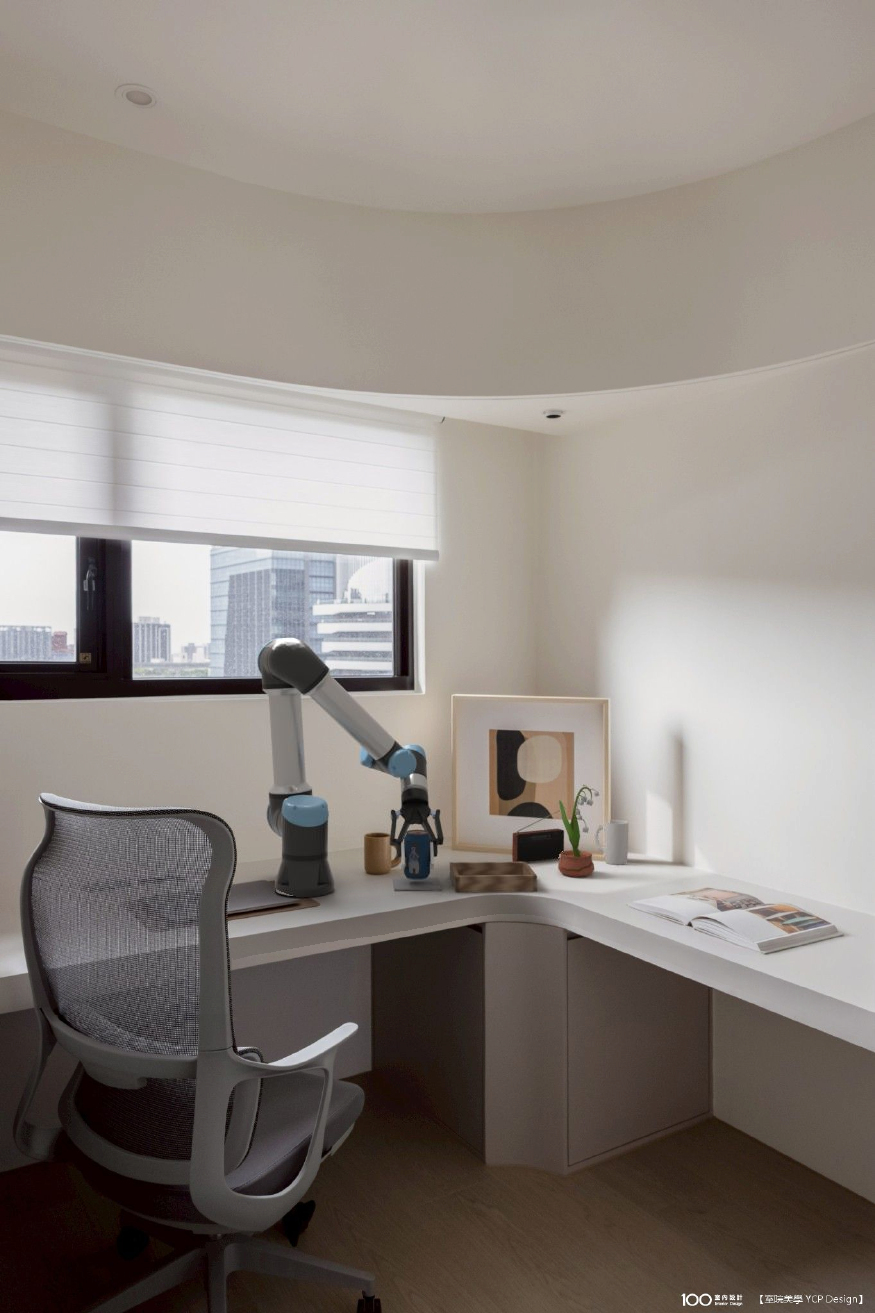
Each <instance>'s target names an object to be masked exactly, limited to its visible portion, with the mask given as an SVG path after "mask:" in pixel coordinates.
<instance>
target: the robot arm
mask: <svg viewBox="0 0 875 1313" xmlns="http://www.w3.org/2000/svg"><path fill="white" fill-rule="evenodd" d="M256 661H257V667H258V671H259V672H260V674H261V684H262V686H261V687H262V688H261V689H262V691H263V692H264V693H265V694H266V695H267V697H268V705H269V706H268V708H269V722H270V723H269V724H270V739H271V740H270V741H271V758H272V770H273V771H272V772H273V773H272V775H273V776H272V777H273V785H272V786H271V787H270V788H269V789H268V805H267V809H266V813H265V814H266V820H267V823H268V826H269V827H270V829H271V831H272V832H274V833H275V834H276V835H277V836H278V837H281V862H280V866H279V869H278V870H277V874H276V876H275V877H276V878H275V880H274V889H275V888H276V889H277V890H279V891H281V892H284V893H286V894H289V895H293V896H296V897H295V898H313V897H320V896H325V895H328V894H330V893H332V892H334V890H335V879H334V875H333V872H332V868H331V865H330V863H329V859H328V858H329V856H328V854H329V853H328V852H329V850H328V849H329V815H330V814H329V813H330V811H329V806H328V803H327V801H326V800H325V799H324V798H322V797H321V796H320V797H319V796H315V795H313V786H311V785H310V784H309V783H308V782H307V777H306V761H305V760H306V759H305V745H304V744H305V743H304V724H303V711H302V710H303V709H302V708H303V706H302V695H303V696H309V697H310V698H311V699H312V700H313V701H315V703H316V704H317V705H319V706H320V708H321V709H322V710H323V711H325V712H326V714H328V715H329V716H330V717H331V718H332V720H334V721H335V722H336V723H337V725H339V726H340V727H341V728H342V729H343V730H344V731H345V732H346V733H347V734H348V735H349V736H350V737H351V738H352V739H353V740H354V741H356V743H357V744H358V745H359V746H361V750H360V752H359V753H360V754H359V763H360V765H362V766H363V767H365V768H368V769H372V770H375V771H379V772H381V773H385V774H386V775H390V776H392V777H394V778H397V779H398V778H399V779H400V802H401V804H400V806H401V807H400V809H398V810H395V809H391V810H390V819H391V826H390V836H389V845H390V846H395V847H396V857H397V858H401V859H400V860H401V862H400V864H401V871H404V869H405V853H404V838H405V836H406V834H407V833H406V832H407V831H409V830H408V829H409V828H410V826H411V825H412V826H413V825H420V826H421V828H423V830H425V831H428V835H429V837H430V870H434V869H435V857H438V853H439V852H438V846H443V845H444V839H445V838H444V834H443V828H442V824H441V819H440V818H441V817H440V816H441V809H436V810H432V809H431V807H430V802H429V793H428V792H429V789H428V788H429V787H428V786H429V785H428V774H427V773H428V772H427V768H428V767H427V765H428V764H427V755H426V751H425V749H424V748H423V747H422V746H421V745H419V744H415V743H414V744H406V745H404V746H402V745H401V744H399V743H398V741H397V740H396V739H395V738H394V737H393V736H392V735H391V734H389V732H388V731H387V730H385V728H384V727H383V726H382V725H381V724H380V723H379V722H378V721H376V719H375V718H374V717H373V716H372V715H371V714H370V713H369V712H368V711H367V710H366V709H365V708H364V707H363V706H362V705H361V704H360V703H359V702H358V701H357V700H356V699H355V698H354V697H353V696H352V695H351V694H350V693H349V692H348V691H347V690H346V689H345V688H344V687H343V686H342V685H341V684H340V683H339V682H338V681H337V680H336V679H335V678H334V677H333V676H332V675H331V669H330V668H329V666H327V665H326V663H325V662H324V661H323V660H322V659H321V657H319V656H318V655H317V653H316V652H314V651H313V649H312V648H311V647H310V646H309V645H308V644H306V642H304V641H303V640H301V639H299V638H298V639H297V638H294V637H286V638H283V637H278V638H273V639H272V640H270V641H268V642H266V643H265V644H264V645H263V646H262V647H261V649H260V650H259V652H258V654H257V660H256ZM400 816H401V817H402V819H404V822H403V824H402V825H401V826H402V827H401V829H400V832H399V834H398V836H397V838H396V831H397V820H398V819H399V818H400ZM430 816H431V818H432V819H433V820H434V828H435V831H436V835H435V833H434V831H433V829H432V827H431V824H430V823H429V820H428V818H429V817H430Z"/></svg>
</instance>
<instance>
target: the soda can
mask: <svg viewBox="0 0 875 1313" xmlns="http://www.w3.org/2000/svg"><path fill="white" fill-rule="evenodd" d="M403 842H404V853H405V869H404V870H403V874H404V877H405V878H408V879H411V880H423V879H426V878H427V877H429V876H430V874H431V866H430V837H429V835H428V831H425V830H424V829H411V830H407V832H406V835H405V837H404V840H403Z"/></svg>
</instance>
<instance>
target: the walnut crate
mask: <svg viewBox="0 0 875 1313" xmlns="http://www.w3.org/2000/svg"><path fill="white" fill-rule="evenodd" d="M449 879H451V880H450V881H451V883H452V884H451V885H452V886H453V889H454V892H455V893H488V892H489V893H495V892H497V893H505V892H511V893H513V892H514V893H515V892H538V876H537V874H536V872H535V871H534V870H533V869H532V868H531V866H530V865H529V863H528V862H513V861H468V862H467V861H462V862H461V861H459V862H454V861H453V862H451V861H450V862H449Z"/></svg>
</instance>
